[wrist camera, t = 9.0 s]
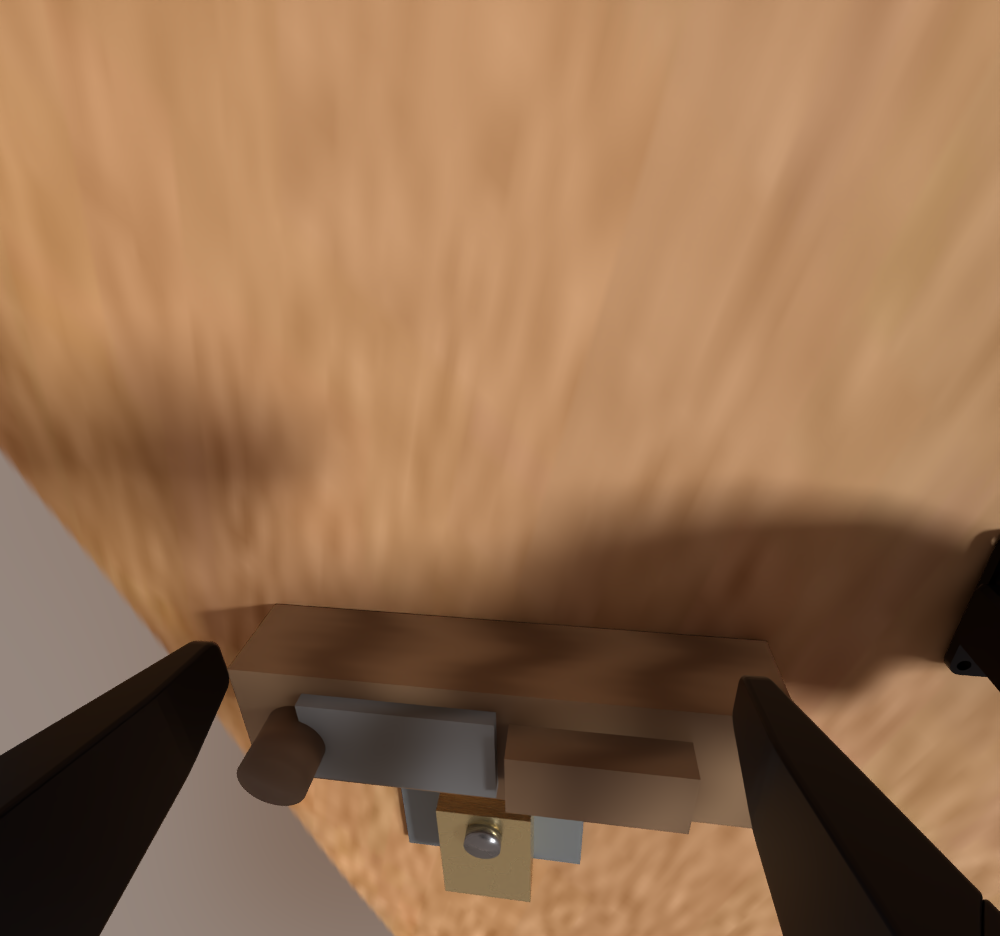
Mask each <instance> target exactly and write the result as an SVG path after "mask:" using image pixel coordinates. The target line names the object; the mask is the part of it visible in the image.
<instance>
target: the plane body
mask: <svg viewBox="0 0 1000 936" xmlns="http://www.w3.org/2000/svg"><path fill="white" fill-rule="evenodd" d="M227 670H228V673H229V677H230V680H231V683H232V686H233V689H234V692H235V695H236V698H237V701H238V705H239V708H240V711H241V714H242V717H243V720H244V723H245V726H246V729H247V732H248V735H249V738H250V741H251V744H252V745H251V747H250V749H249V750H248V752H247V754H246V755H245V757H244V759H243V761H242V762H241V764H240V766H239V767H238V770H237V778H238V780H239V782H240V784H241V785H242V787H243V788H244V789H245V790H246V791H247V792H249V794H251V795H252V796H254V797H256V798H257V799H259V800H261V801H264V802H267V803H270V804H274V805H281V806H289V805H294V804H297V803H299V802H301V801H302V800H303V799H304V798H305V796H306V793H307V791H308V789H309V787H310V785H311V782H312V780H313V778H320V779H328V780H337V781H346V782H354V783H363V784H371V785H380V786H389V787H397V788H406V789H415V790H423V791H432V792H441V793H449V794H458V795H467V796H475V797H484V798H493V799H501V800H505V812H506V813H514V814H523V815H531V816H540V817H548V818H557V819H565V820H574V821H582V822H591V823H599V824H607V825H616V826H624V827H633V828H641V829H650V830H658V831H667V832H675V833H683V834H689V830H690V825H691V821H692V822H700V823H709V824H718V825H726V826H735V827H744V828H752V825H751V820H750V815H749V810H748V805H747V799H746V794H745V788H744V783H743V777H742V772H741V767H740V761H739V756H738V750H737V745H736V739H735V734H734V728H733V719H732V714H733V707H734V702H735V697H736V692H737V687H738V682H739V680H740V678H741V677H742V676H744V675H751V676H765V677H768V678H770V679H771V680H772V681H774V682H775V684H776V685H777V686H778V687H779V688H780V689H781V690H782V691H783V692H784V693H785V694H786V695H787V696H788V697H789V698H790V696H789V693H788V691H787V689H786V686H785V684H784V681H783V679H782V677H781V674H780V672H779V670H778V667H777V665H776V662H775V660H774V658H773V655H772V653H771V650H770V648H769V646H768V643H767V641H759V640H746V639H733V638H719V637H706V636H693V635H680V634H666V633H653V632H640V631H627V630H613V629H600V628H587V627H574V626H560V625H547V624H534V623H520V622H507V621H494V620H481V619H467V618H454V617H441V616H428V615H414V614H401V613H388V612H375V611H361V610H348V609H335V608H322V607H308V606H295V605H282V604H275V605H274V607H273V608H272V609H271V611H270V612H269V613H268V615H267V616H266V617H265V619H264V620H263V621H262V623H261V624H260V625H259V627H258V628H257V629H256V631H255V632H254V634H253V635H252V636H251V638H250V639H249V640H248V642H247V643H246V644H245V646H244V647H243V648H242V650H241V651H240V652H239V654H238V655H237V656H236V658H235V659H234V661H233V662H232V663H231V665H230V666H229V667H228V669H227ZM790 699H791V698H790Z"/></svg>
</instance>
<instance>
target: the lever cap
mask: <svg viewBox="0 0 1000 936" xmlns="http://www.w3.org/2000/svg"><path fill="white" fill-rule="evenodd" d="M436 817H437V825H438V833H439V842H440V850H441V858H442V866H443V875H444V883H445V891H451V892H459V893H466V894H473V895H481V896H488V897H495V898H503V899H510V900H518V901H525V902H530V899H531V884H532V870H533V855H534V816H531V815H523V814H514V813H506V812H505V800H501V799H493V798H484V797H475V796H467V795H458V794H449V793H441V792H440V795H439V799H438V803H437V808H436Z"/></svg>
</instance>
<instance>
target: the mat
mask: <svg viewBox="0 0 1000 936" xmlns="http://www.w3.org/2000/svg"><path fill="white" fill-rule="evenodd" d="M401 790H402V796H403V803H404V809H405V816H406V822H407V829H408V835H409V842H411V843H419V844H426V845H434V846H440V842H439V833H438V825H437V817H436V808H437V803H438V799H439V795H440V792H432V791H423V790H415V789H406V788H401ZM582 833H583V822H582V821H574V820H565V819H557V818H548V817H540V816H534V855H533V858H536V859H544V860H552V861H559V862H567V863H575V864H580V857H581V845H582Z"/></svg>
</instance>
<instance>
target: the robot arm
mask: <svg viewBox="0 0 1000 936" xmlns="http://www.w3.org/2000/svg"><path fill="white" fill-rule="evenodd" d="M944 662H945V664H946V665H947V667H948V668H949V669H950V670H951V672H953V673H954V674H958V675H968V676H981V677H988V678H989V680H990V681H991V682H992V683H993V684H994V685H995V687H996V688H997V689H998V690H999V691H1000V539H999V541H998V542H997V544H996V546H995V548H994V550H993V553H992V555H991V557H990V559H989V561H988V563H987V566H986V568H985V570H984V572H983V574H982V576H981V579H980V581H979V583H978V585H977V587H976V589H975V592H974V594H973V596H972V598H971V600H970V602H969V605H968V607H967V609H966V611H965V613H964V615H963V618H962V620H961V622H960V624H959V626H958V628H957V631H956V633H955V635H954V637H953V639H952V641H951V644H950V646H949V648H948V650H947V652H946V654H945V657H944ZM228 685H229V673H228V670H227V667H226V664H225V661H224V659H223V656H222V653H221V650H220V648H219V646H218V645H217V644H216V643H215V642H208V641H193V642H190V643H188V644H186V645H185V646H183V647H181V648H180V649H178V650H176V651H175V652H173V653H171V654H170V655H168V656H166V657H165V658H163V659H161V660H160V661H158V662H156V663H154V664H153V665H151V666H150V667H148V668H146V669H144V670H143V671H141V672H139V673H138V674H136V675H134V676H133V677H131V678H130V679H128V680H126V681H124V682H123V683H121V684H119V685H118V686H116V687H115V688H113V689H111V690H109V691H108V692H106V693H104V694H103V695H101V696H99V697H98V698H96V699H94V700H93V701H91V702H89V703H87V704H86V705H84V706H82V707H81V708H79V709H77V710H76V711H74V712H72V713H71V714H69V715H67V716H66V717H64V718H62V719H61V720H59V721H58V722H56V723H54V724H52V725H51V726H49V727H47V728H46V729H44V730H42V731H41V732H39V733H37V734H35V735H34V736H32V737H31V738H29V739H27V740H25V741H24V742H22V743H20V744H19V745H17V746H16V747H14V748H12V749H10V750H9V751H7V752H5V753H4V754H2V755H0V936H100V934H101V932H102V930H103V928H104V926H105V925H106V923H107V921H108V919H109V917H110V916H111V914H112V912H113V910H114V909H115V907H116V905H117V903H118V901H119V900H120V898H121V896H122V894H123V892H124V890H125V889H126V887H127V885H128V883H129V882H130V880H131V878H132V876H133V874H134V873H135V871H136V869H137V867H138V865H139V863H140V861H141V860H142V858H143V856H144V855H145V853H146V851H147V849H148V847H149V846H150V844H151V842H152V840H153V838H154V836H155V835H156V833H157V831H158V829H159V828H160V826H161V824H162V822H163V820H164V819H165V817H166V815H167V813H168V811H169V809H170V808H171V806H172V804H173V803H174V801H175V799H176V797H177V795H178V794H179V791H180V790H181V788H182V786H183V784H184V782H185V781H186V779H187V777H188V775H189V773H190V771H191V769H192V767H193V764H194V762H195V761H196V758H197V756H198V754H199V752H200V749H201V747H202V745H203V743H204V740H205V738H206V736H207V734H208V731H209V729H210V727H211V725H212V722H213V720H214V718H215V716H216V713H217V711H218V709H219V707H220V704H221V702H222V700H223V698H224V695H225V693H226V691H227V688H228ZM732 719H733V728H734V734H735V739H736V745H737V750H738V756H739V761H740V767H741V772H742V777H743V783H744V788H745V794H746V799H747V805H748V810H749V815H750V820H751V825H752V829H753V833H754V837H755V841H756V845H757V848H758V851H759V855H760V858H761V862H762V865H763V869H764V872H765V875H766V879H767V882H768V886H769V889H770V892H771V896H772V899H773V903H774V906H775V910H776V913H777V916H778V920H779V923H780V927H781V930H782V933H783V936H1000V911H999V910H998V909H997V908H996V907H995V906H994V905H993V904H992V903H991V902H990V901H988V900H982V899H983V898H982V894H981V892H980V891H979V890H978V889H977V888H976V887H975V886H974V885H973V884H972V883H971V882H970V881H969V880H968V879H967V878H966V877H965V876H964V875H963V874H962V873H961V872H960V871H959V870H958V869H957V868H956V867H955V866H954V865H953V864H952V863H951V862H950V861H949V860H948V859H947V858H946V857H945V856H944V855H943V854H942V853H941V852H940V851H939V850H938V849H937V847H936V846H935V845H934V844H933V843H932V842H931V841H930V840H929V839H928V838H927V837H926V836H925V835H924V834H923V833H922V832H921V831H920V830H919V829H918V828H917V827H916V826H915V825H914V824H913V823H912V822H911V821H910V820H909V819H908V818H907V817H906V816H905V815H904V814H903V813H902V812H901V811H900V810H899V809H898V808H897V807H896V806H895V805H894V804H893V803H892V802H891V801H890V800H889V799H888V798H887V797H886V796H885V795H884V794H883V792H882V791H881V790H880V789H879V788H878V787H877V786H876V785H875V784H874V783H873V782H872V781H871V780H870V779H869V778H868V777H867V776H866V775H865V774H864V773H863V772H862V771H861V770H860V769H859V768H858V767H857V766H856V765H855V764H854V763H853V762H852V761H851V760H850V759H849V758H848V757H847V756H846V755H845V754H844V753H843V752H842V751H841V750H840V749H839V748H838V747H837V746H836V745H835V744H834V743H833V742H832V741H831V740H830V739H829V737H828V736H827V735H826V734H825V733H824V732H823V731H822V730H821V729H820V728H819V727H818V726H817V725H816V724H815V723H814V722H813V721H812V720H811V719H810V718H809V717H808V716H807V715H806V714H805V713H804V712H803V711H802V710H801V709H800V708H799V707H798V706H797V705H796V704H795V703H794V702H793V701H792V700H791V699H790V698H789V697H788V696H787V695H786V694H785V693H784V692H783V691H782V690H781V689H780V688H779V687H778V686H777V685H776V684H775V682H774V681H772V680H771V679H770V678H768V677H765V676H751V675H744V676H742V677H741V678H740V680H739V682H738V687H737V692H736V697H735V702H734V707H733V714H732Z"/></svg>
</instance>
